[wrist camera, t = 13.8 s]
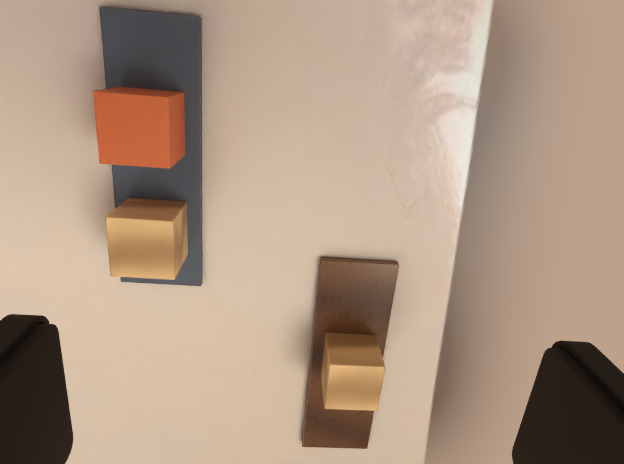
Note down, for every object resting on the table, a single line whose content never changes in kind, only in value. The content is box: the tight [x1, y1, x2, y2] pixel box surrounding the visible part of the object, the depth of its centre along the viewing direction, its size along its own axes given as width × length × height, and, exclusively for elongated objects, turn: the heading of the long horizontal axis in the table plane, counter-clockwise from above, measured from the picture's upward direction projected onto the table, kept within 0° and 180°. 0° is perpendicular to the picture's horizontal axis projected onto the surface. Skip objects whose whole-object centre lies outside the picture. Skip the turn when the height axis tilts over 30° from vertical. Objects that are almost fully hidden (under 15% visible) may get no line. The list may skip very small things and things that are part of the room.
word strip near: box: [100, 7, 202, 286], centre depth 33 cm, size 20×6×1 cm, turn 175°
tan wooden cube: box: [106, 198, 188, 280], centre depth 32 cm, size 4×4×4 cm
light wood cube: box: [321, 333, 385, 411], centre depth 37 cm, size 4×4×4 cm
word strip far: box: [302, 257, 399, 449], centre depth 40 cm, size 20×6×1 cm, turn 175°
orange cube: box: [93, 87, 185, 169], centre depth 29 cm, size 4×4×4 cm
